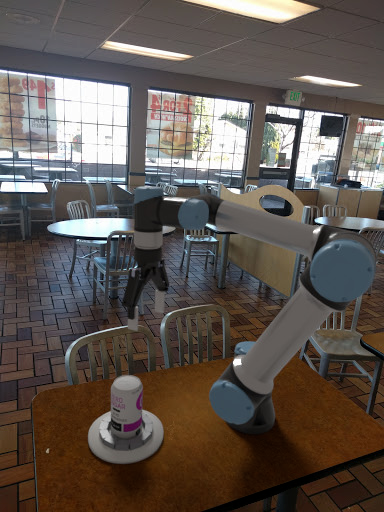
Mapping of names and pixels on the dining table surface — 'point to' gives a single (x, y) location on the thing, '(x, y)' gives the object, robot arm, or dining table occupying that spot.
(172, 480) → the dining table surface
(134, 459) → the round tray
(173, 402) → the dining table surface
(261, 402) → the robot arm
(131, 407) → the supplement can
